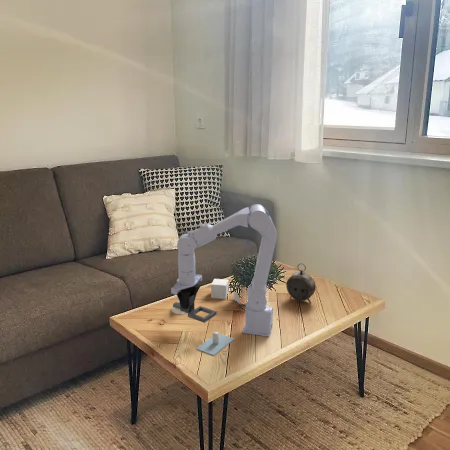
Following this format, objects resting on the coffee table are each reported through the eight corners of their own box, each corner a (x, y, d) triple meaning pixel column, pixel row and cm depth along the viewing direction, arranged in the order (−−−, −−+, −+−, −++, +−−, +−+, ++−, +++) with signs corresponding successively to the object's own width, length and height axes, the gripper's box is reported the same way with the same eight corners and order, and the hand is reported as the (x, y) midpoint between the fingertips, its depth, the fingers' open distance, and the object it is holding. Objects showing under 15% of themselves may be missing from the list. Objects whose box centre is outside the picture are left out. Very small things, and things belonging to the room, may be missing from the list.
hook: (203, 302, 172) (187, 294, 169) (185, 323, 176) (169, 315, 174) (202, 290, 178) (187, 281, 176) (184, 310, 183) (169, 303, 180)
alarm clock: (315, 302, 184) (317, 264, 179) (309, 307, 179) (312, 268, 175) (289, 296, 189) (291, 258, 185) (283, 301, 185) (285, 262, 180)
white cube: (214, 292, 193) (214, 278, 191) (228, 293, 192) (228, 279, 190) (211, 298, 187) (211, 284, 186) (225, 299, 186) (226, 285, 185)
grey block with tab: (168, 309, 161) (167, 294, 159) (180, 302, 167) (180, 287, 165) (204, 322, 153) (204, 306, 151) (216, 314, 158) (216, 298, 157)
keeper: (196, 349, 151) (196, 337, 149) (217, 333, 160) (217, 322, 159) (213, 355, 147) (213, 344, 146) (234, 339, 156) (234, 328, 155)
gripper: (190, 260, 164) (191, 296, 168) (163, 273, 153) (164, 311, 157) (206, 264, 161) (207, 300, 165) (180, 278, 149) (181, 316, 153)
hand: (187, 306), depth 160 cm, fingers closed on grey block with tab, 3 cm apart
